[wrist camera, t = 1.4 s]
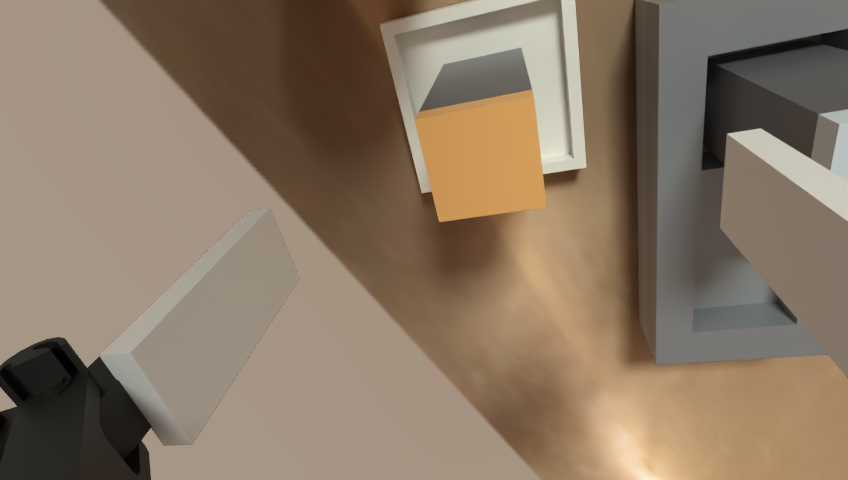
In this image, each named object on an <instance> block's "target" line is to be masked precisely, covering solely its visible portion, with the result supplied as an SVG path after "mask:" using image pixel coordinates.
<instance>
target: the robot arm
mask: <svg viewBox="0 0 848 480" xmlns="http://www.w3.org/2000/svg"><path fill="white" fill-rule="evenodd" d="M720 228H721V230H722V231H723V232H724V233H725V234H726V236H727V237H728V238H729V239H730V240H731V241H732V243H733V244H734V245H735V246H736V247H737V248H738V250H739V251H740V252H741V253H742V254H743V255H744V257H745V258H746V259H747V260H748V261H749V263H750V264H751V265H752V266H753V267H754V268H755V270H756V271H757V272H758V273H759V274H760V275H761V277H762V278H763V279H764V280H765V281H766V283H767V284H768V285H769V286H770V287H771V288H772V290H773V291H774V292H775V293H776V294H777V295H778V297H779V298H780V299H781V300H782V301H783V302H784V304H785V305H786V306H787V307H788V308H789V310H790V311H791V312H792V313H793V314H794V315H795V317H796V318H797V319H798V320H799V321H800V322H801V324H802V325H803V326H804V327H805V328H806V330H807V331H808V332H809V333H810V334H811V335H812V337H813V338H814V339H815V340H816V341H817V342H818V344H819V345H820V346H821V347H822V348H823V349H824V351H825V352H826V353H827V354H828V355H829V357H830V358H831V359H832V360H833V361H834V362H835V364H836V365H837V366H838V367H839V368H840V369H841V371H842V372H843V373H844V374H845V375H846V377H847V378H848V181H846V180H845V179H843V178H841V177H840V176H838V175H836V174H835V173H833V172H831V171H830V170H828V169H827V168H825V167H823V166H822V165H820V164H818V163H817V162H815V161H813V160H812V159H810V158H809V157H807V156H805V155H804V154H802V153H800V152H799V151H797V150H795V149H794V148H792V147H791V146H789V145H787V144H786V143H784V142H782V141H781V140H779V139H777V138H776V137H774V136H773V135H771V134H769V133H768V132H766V131H764V130H763V129H761V128H759V129H753V130H747V131H741V132H734V133H728V134H727V139H726V152H725V166H724V179H723V192H722V206H721V219H720ZM298 280H299V276H298V274H297V271H296V269H295V266H294V264H293V262H292V259H291V257H290V254H289V252H288V250H287V247H286V245H285V242H284V240H283V238H282V235H281V233H280V231H279V228H278V226H277V223H276V221H275V218H274V216H273V214H272V211H271V209H270V208H264V209H258V210H251V211H248V212H247V213H246V214H245V215H244V216H243V217H242V218H241V219H240V220H239V221H238V222H237V223H236V224H235V225H234V226H233V227H232V228H231V229H230V230H229V231H228V232H226V233H225V234H224V235H223V236H222V237H221V238H220V239H219V240H218V241H217V242H216V243H215V244H214V245H213V246H212V247H211V248H210V249H209V250H208V251H207V252H206V253H205V254H204V255H203V256H202V257H201V258H199V259H198V261H197V262H195V263H194V264H193V265H192V266H191V267H190V268H189V269H188V270H187V271H186V272H185V273H184V274H183V275H182V276H181V277H180V278H179V279H178V280H177V281H176V282H175V283H174V284H173V285H172V286H170V287H169V288H168V290H166V291H165V293H163V294H162V295H161V296H160V297H159V298H158V299H157V300H156V301H155V302H154V303H153V304H152V305H151V306H150V307H149V308H148V309H147V310H146V311H145V312H144V313H143V314H142V315H140V317H138V318H137V319H136V320H135V321H134V322H133V323H132V324H131V325H130V326H129V327H128V328H127V329H126V330H125V331H124V332H123V333H122V334H121V335H120V336H119V337H118V338H117V339H116V340H115V341H114V342H112V343H111V344H110V345H109V346H108V347H107V348H106V349H105V350H104V351H103V352H102V353H101V354H100V355H99V357H98V358H97V359H96V360H95V361H94V362H93V363H92V364H91V365H90V366H89V367H88V368H87V367H86V366H85V365H84V364H83V362H82V361H81V359H80V358H79V357H78V355H77V354H76V353H75V351H74V350H73V349H72V347H71V346H70V345H69V343H68V342H67V341H66V340H65V339H64V338H60V337H57V338H51V339H47V340H44V341H41V342H38V343H36V344H34V345H31V346H29V347H28V348H26V349H24V350H22V351H20V352H18V353H17V354H15V355H14V356H12V357H11V358H9V359H8V360H6V361H5V362H4V363H3V364H2V365H1V366H0V387H1V388H2V389H3V390H4V392H5V393H6V394H7V395H8V396H9V397H10V398H11V399H12V401H13V402H14V403H15V404H16V405H17V407H14V408H12V409H8V410H5V411H2V412H0V480H151V475H150V462H149V452H148V450H147V448H146V446H145V445H144V444H143V442H142V441H141V440H142V438H143V437H144V436H145V434H146V433H147V432H148V431H149V429H150V428H152V430H153V431H154V432H155V434H156V435H157V437H158V438H159V439H160V441H161V442H162V444H163V445H192V444H193V443H194V441H195V440H196V438H197V437H198V435H199V433H200V432H201V430H202V429H203V427H204V426H205V424H206V423H207V421H208V420H209V418H210V416H211V415H212V413H213V412H214V410H215V409H216V407H217V406H218V404H219V403H220V401H221V399H222V398H223V396H224V395H225V393H226V392H227V390H228V388H229V387H230V385H231V384H232V382H233V381H234V379H235V378H236V376H237V374H238V373H239V372H240V370H241V368H242V367H243V365H244V363H245V362H246V361H247V359H248V358H249V356H250V355H251V353H252V351H253V350H254V348H255V347H256V345H257V344H258V342H259V341H260V339H261V338H262V336H263V334H264V333H265V331H266V330H267V328H268V327H269V325H270V324H271V322H272V320H273V319H274V317H275V316H276V314H277V313H278V311H279V310H280V308H281V307H282V305H283V303H284V302H285V300H286V299H287V297H288V296H289V294H290V293H291V291H292V289H293V288H294V286H295V285H296V283H297V282H298Z"/></svg>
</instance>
